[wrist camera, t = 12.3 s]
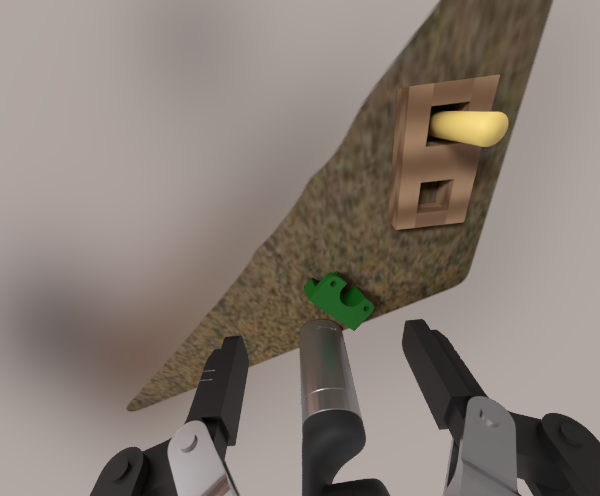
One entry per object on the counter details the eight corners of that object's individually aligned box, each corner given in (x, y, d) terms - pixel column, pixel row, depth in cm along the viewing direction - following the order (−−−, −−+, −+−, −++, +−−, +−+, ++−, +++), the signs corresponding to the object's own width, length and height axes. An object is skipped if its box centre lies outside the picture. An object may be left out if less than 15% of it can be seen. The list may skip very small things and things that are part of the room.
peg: (437, 138, 34) (495, 150, 24) (417, 132, 33) (468, 142, 24) (448, 114, 32) (515, 116, 23) (428, 108, 32) (487, 107, 22)
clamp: (350, 278, 51) (380, 309, 44) (330, 299, 51) (358, 332, 45) (318, 257, 42) (350, 290, 36) (295, 282, 43) (323, 319, 37)
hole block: (450, 213, 39) (463, 222, 36) (388, 220, 39) (396, 229, 36) (479, 78, 30) (500, 74, 27) (397, 88, 30) (409, 86, 27)
